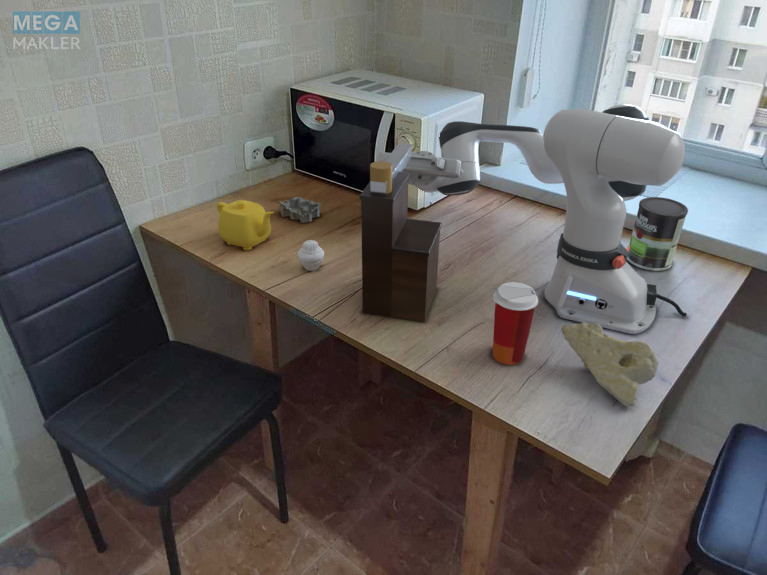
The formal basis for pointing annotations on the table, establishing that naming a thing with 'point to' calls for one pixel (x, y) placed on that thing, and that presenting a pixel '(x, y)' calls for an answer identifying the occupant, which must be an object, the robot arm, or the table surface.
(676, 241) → the coffee can
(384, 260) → the step stand
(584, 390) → the table surface
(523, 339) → the paper cup
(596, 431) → the table surface
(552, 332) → the table surface
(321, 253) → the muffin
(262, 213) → the teapot
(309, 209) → the egg carton
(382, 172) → the crank handle
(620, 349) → the cheese
